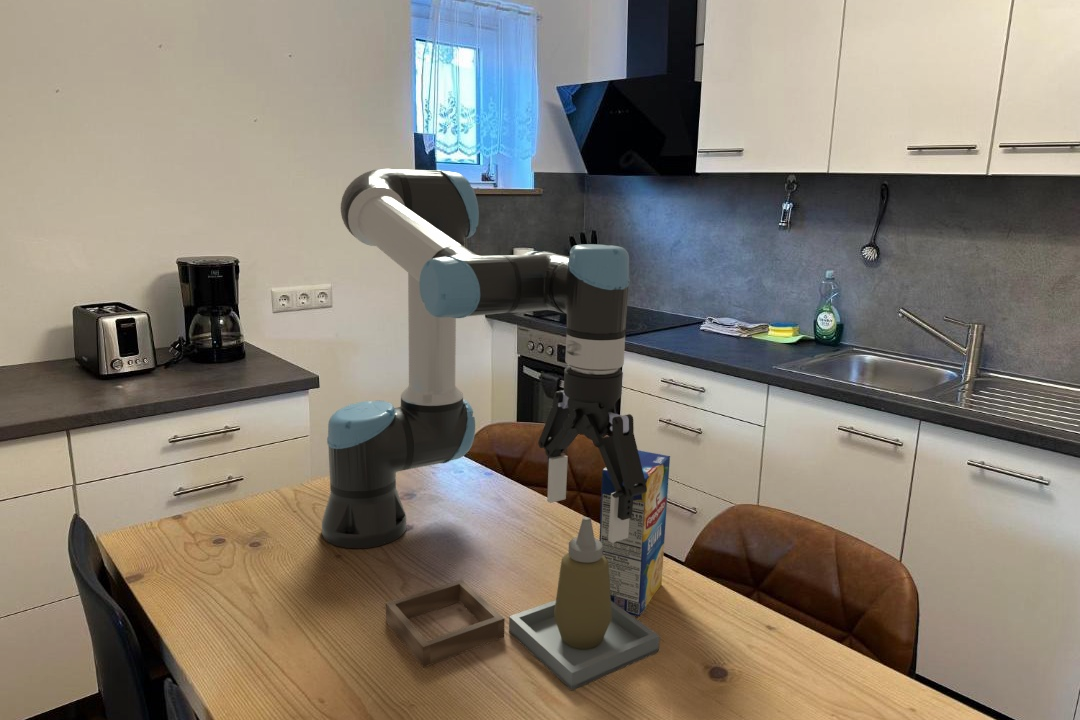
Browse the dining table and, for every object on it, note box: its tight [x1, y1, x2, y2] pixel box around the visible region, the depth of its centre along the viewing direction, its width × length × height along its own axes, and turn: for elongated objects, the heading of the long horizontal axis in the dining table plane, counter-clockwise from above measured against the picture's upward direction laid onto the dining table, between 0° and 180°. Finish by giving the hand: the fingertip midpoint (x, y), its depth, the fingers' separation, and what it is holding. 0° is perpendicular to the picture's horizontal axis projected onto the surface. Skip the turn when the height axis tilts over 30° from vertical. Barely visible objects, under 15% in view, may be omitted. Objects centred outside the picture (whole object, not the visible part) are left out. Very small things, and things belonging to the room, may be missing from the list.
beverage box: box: [598, 449, 671, 618], centre depth 113 cm, size 7×11×22 cm, turn 153°
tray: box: [508, 599, 661, 691], centre depth 103 cm, size 15×15×2 cm
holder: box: [385, 579, 506, 668], centre depth 105 cm, size 12×12×3 cm
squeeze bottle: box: [554, 516, 612, 649], centre depth 101 cm, size 8×8×18 cm
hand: (585, 518), depth 99 cm, fingers open, 13 cm apart
